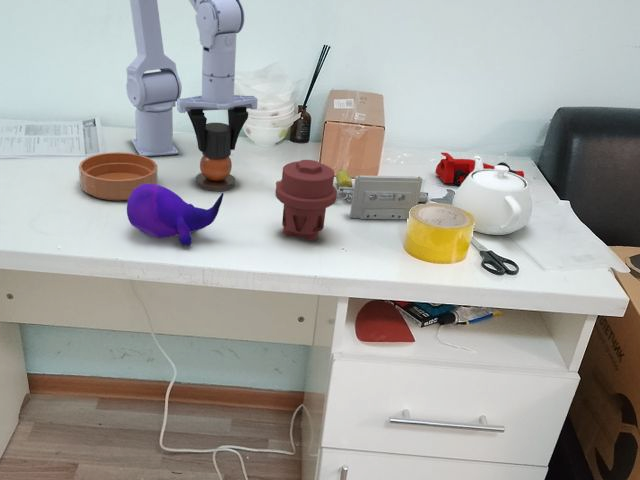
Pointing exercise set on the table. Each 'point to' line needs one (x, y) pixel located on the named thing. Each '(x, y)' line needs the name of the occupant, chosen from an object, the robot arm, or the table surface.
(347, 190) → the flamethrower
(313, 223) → the mechanical component
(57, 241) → the table surface
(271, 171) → the table surface
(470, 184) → the teapot
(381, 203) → the cassette
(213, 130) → the cap
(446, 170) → the toy car
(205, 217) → the toy
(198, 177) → the sphere on round base
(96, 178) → the round terracotta dish
